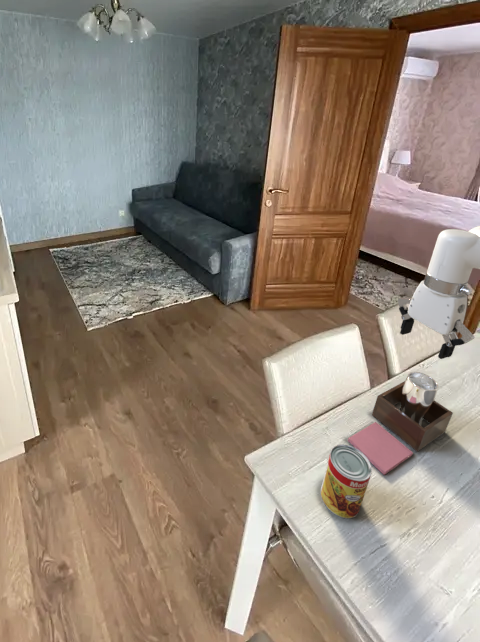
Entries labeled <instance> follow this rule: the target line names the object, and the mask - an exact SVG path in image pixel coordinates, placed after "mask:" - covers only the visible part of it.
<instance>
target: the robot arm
mask: <svg viewBox="0 0 480 642" xmlns="http://www.w3.org/2000/svg"><path fill="white" fill-rule="evenodd" d="M474 269H477V270H480V225H478V226H474V227H473V228H471V229H469V230H463V229H456V228H450V229H449V228H448V229H444V230H442V231H440V232H439V234H438V235H437V238H436V241H435V245H434V248H433V250H432V254H431V257H430V261H429V264H428V267H427V270H426V273H425V276H424V279H423V280H421V281H420V283H419V284H418V285H417V287H416V289H415V291H414V292H413V295H412V296H411V297H400V298H397V304H398V310H399V313H400V315H401V320H402V322H401V325H400V331H399V334H400V335H403V336H404V335H407V334H410V333H411V332H412V330H413V328H414V324H415V321H416V322H418V323H420V324H422V325H423V326H425V327H427V328H428V329H430V330H432V331H434V332H436V333H438V334H439V335H441V336H442V338H443V341H444V343H442V344H441V347H440V349H439V352H438V355H437V357H438V359H440V360H444V359H447V358H450V357H452V356H453V353H454V350H455V348H456V347H457V346H462V345H466V344H468V343H469V342H471V341H473V340H475V338H476V337H475V335H474V334H473V333H472V332H471V331H470V329H468V327H467V326H466V325H465V324H464V321H465V317H466V312H467V308H468V296H470V295H471V294H472V292H473V290H472V289H471V288H469V287H468V285H469V279H470V277H471V274H472V271H473V270H474ZM407 305H408V306H407ZM457 333H459V334H460V335H461V337H460V338H459V337H458V335H457Z"/></svg>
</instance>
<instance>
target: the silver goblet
mask: <svg viewBox="0 0 480 642" xmlns="http://www.w3.org/2000/svg"><path fill="white" fill-rule="evenodd" d="M404 381H405V383H404V385H403V388H402V393H401V402H400V405H399V408H398V409H399V410H400V411H402V412H403V413H404V414H406V415H407V416H408V417H410V418H411V419H412V420H414V421H415V422H416V423H418V424H419V425H420V426H422V423H423V420H424V419H423V417H424V416H425V414H426V413H427V412H428V411H429V409H430V408H431V406H432V405H433V402H434V400H435V401H436V397H437V393H438V389H439V384H438V382H437V381H436V380H435V379H434V378H433V377H432V376H430V375H429V374H426V373H423V372H420V371H410V372H408V374H407V376H406V379H405V380H404Z"/></svg>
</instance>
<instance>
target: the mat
mask: <svg viewBox="0 0 480 642" xmlns="http://www.w3.org/2000/svg"><path fill="white" fill-rule="evenodd" d="M347 442H348V443H349V444H351V446H352V447H354V448H356V449H358V450H359V451H360V452H362V453H363V454H364V455H365V456H366V457H367V459H368V460H369V462H370V464H371V465H373V466H374V467H375V468H376V469H377V470H378V471H379V472H380V473H381V474H382V475H384V476H385V475H387V474H388V473H390V472H391V471H392V470H394V469H395V468H396V467H398V466H400V465H401V464H402V463H404V462H405V461H406V460H408V459H409V458H411V457H412V456H413V455H414V452H413V451H412V450H410V449H409V448H408V447H407V445H405V444H403V443H402V442H401V441H400V440H398V439H397V438H396V437H395V436H394V435H392V434H391V433H390V432H389V431H388V430H387V429H385V428H384V427H383V426H382V425H380V424H379V423H378V422H377V421H375V422H372V423H371V424H370V425H368V426H366V427H365V428H363V429H361V430H360V431H358V432H356V433H354V434H352V435H351V436H350V437H348V438H347Z"/></svg>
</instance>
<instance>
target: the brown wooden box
mask: <svg viewBox="0 0 480 642" xmlns="http://www.w3.org/2000/svg"><path fill="white" fill-rule="evenodd" d="M404 383H405V380H404V381H402V382H400V383H398V384H397V385H395V386H393V387H391V388H389V389H388V390H385V391H384V392H382V393H381V394H379V395H377V397H376V399H375V403H374V406H373V410H372V412H371V416H373V418H375V419H376V420H377V421H378V422H380V423H381V424H382V425H383V426H385V427H386V428H387V429H388V430H390V431H391V432H393V434H395V435H396V436H397V437H399V438H400V439H401V440H402V441H404V442H405V443H406V444H407V445H408V446H410V447H411V448H412V449H413V450H415V451H416V452H419V451H420V450H422V449H423V448H425V447H426V446H427V445H429V444H431V443H432V442H433V441H435V440H436V439H437V438H439V437H440V436H442V435H443V434H444V433H446V431H447V428H448V426H449V423H450V421H451V419H452V417H453V414H454V412H453V411H451V410H449V409H448V408H447V407H445V406H443V405H442V404H440V403H439V402H438V401H436V399H435V400H434V402H433V405H432V406H431V408H430V409H429V411H428V412H427V413H426V414H425V416H424V417H423V419H422V420H424V421H426V422H427V423H428V425H426V426H424V427H423V426H422V425H421V426H420V425H419V424H418V423H416V422H415V421H414V420H412V419H411V418H410V417H408V416H407V415H406V414H404V413H403V412H402V411H400V410H399V409H400V408H398V407H396V405H397V404H399V403H401V393H402V388H403V385H404Z"/></svg>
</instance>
